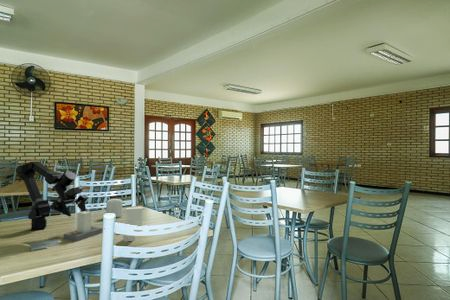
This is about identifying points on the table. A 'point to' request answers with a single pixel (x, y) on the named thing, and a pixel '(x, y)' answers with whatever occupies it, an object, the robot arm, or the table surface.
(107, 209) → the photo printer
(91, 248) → the table surface
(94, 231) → the power strip
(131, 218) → the base with upright slab
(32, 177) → the robot arm
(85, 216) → the block
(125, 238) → the shot glass
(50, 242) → the mat
